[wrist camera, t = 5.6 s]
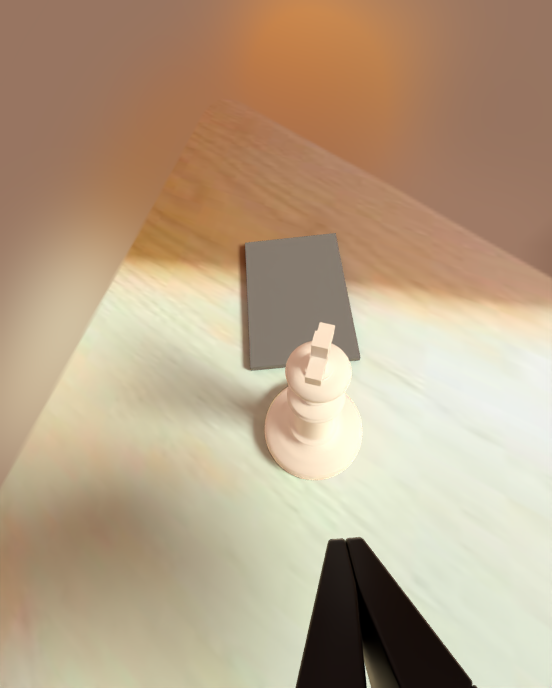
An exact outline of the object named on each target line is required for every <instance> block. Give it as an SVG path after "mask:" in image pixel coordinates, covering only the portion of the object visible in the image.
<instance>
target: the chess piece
mask: <svg viewBox="0 0 552 688" xmlns="http://www.w3.org/2000/svg"><path fill="white" fill-rule="evenodd" d="M334 330H335V325H331V324H326V323H322V322H320V323H319V327H318V330H317V331H315V333H314V336H313V340H312V341H310V342H306V343H304V344H302V345H300V346H299V347H297V348H296V349H295V350H294V351H293V352H292V353H291V355H290V356H289V358H288V360H287V363H286V369H285V374H286V379H287V382H288V384H289V386H288V387H287V388H285V389H284V390H283V391H281V392H280V393H279V394H278V395H277V396H276V397H275V399H274V400H273V402H272V403H271V405H270V407H269V409H268V412H267V415H266V420H265V439H266V444H267V447H268V449H269V451H270V453H271V455H272V457H273V458H274V460H275V461H276V462H277V463H278V464H279V465H280V466H281V467H282V468H283V469H284V470H285V471H287V472H288V473H290V474H292V475H294V476H296V477H299V478H302V479H306V480H323V479H328V478H331V477H333V476H336V475H338V474H339V473H341V472H342V471H344V470H345V469H346V468H347V467H348V466H349V465H350V464H351V463H352V462H353V460H354V459H355V457H356V456H357V454H358V451H359V449H360V445H361V441H362V422H361V418H360V414H359V412H358V409H357V407H356V406H355V404H354V402H353V401H352V400H351V398H350V397H349V396H348V395H347V394H346V393H345V390H346V389H347V387H348V386H349V383H350V380H351V375H352V369H351V364H350V361H349V359H348V357H347V356H346V354H345V353H344V352H343V351H342V350H341V349H340V348H339V347H337V346H336V345H334V344H332V339H333V335H334Z"/></svg>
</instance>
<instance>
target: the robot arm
mask: <svg viewBox="0 0 552 688" xmlns="http://www.w3.org/2000/svg"><path fill="white" fill-rule="evenodd" d="M364 662H365V665H364ZM365 666H366V670H367V673H368V677H369V681H370V684H371V688H477V686H475V685H473V686H472V680H471V679H470V678H469V676H468V675H467V674H466V672H465V671H464V670H463V668H462V667H461V666H460V665H459V663H458V662H457V661H456V659H455V658H454V657H453V655H452V654H451V653H450V651H449V650H448V649H447V648H446V646H445V645H444V644H443V642H442V641H441V640H440V638H439V637H438V636H437V635H436V633H435V632H434V631H433V629H432V628H431V627H430V625H429V624H428V623H427V621H426V620H425V619H424V618H423V616H422V615H421V614H420V612H419V611H418V610H417V608H416V607H415V606H414V604H413V603H412V602H411V601H410V599H409V598H408V597H407V595H406V594H405V593H404V591H403V590H402V589H401V588H400V586H399V585H398V584H397V582H396V581H395V580H394V578H393V577H392V576H391V574H390V573H389V572H388V571H387V569H386V568H385V567H384V565H383V564H382V563H381V561H380V560H379V559H378V557H377V556H376V555H375V554H374V552H373V551H372V550H371V548H370V547H369V546H368V544H367V543H366V542H365V541H364V539H363V538H361V537H355V538H347V539H346V541H345V540H344V539H342V538H341V539H330V540H329V541H328V544H327V549H326V553H325V558H324V562H323V567H322V571H321V576H320V580H319V585H318V589H317V594H316V598H315V603H314V607H313V612H312V616H311V621H310V625H309V630H308V634H307V639H306V643H305V648H304V652H303V657H302V661H301V666H300V670H299V675H298V679H297V684H296V688H367V687H366V676H365Z"/></svg>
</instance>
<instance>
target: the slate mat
mask: <svg viewBox="0 0 552 688" xmlns="http://www.w3.org/2000/svg"><path fill="white" fill-rule="evenodd" d="M245 251H246V274H247V298H248V321H249V345H250V368H251V371H252V370H263V369H273V368H283V367H286V363H287V360H288V358H289V356H290V355H291V353H292V352H293V351H294V350H295V349H296V348H297V347H299V346H300V345H302V344H304V343H306V342H310V341H312V340H313V336H314V333H315V331H317V330H318V327H319V323H320V322H322V323H326V324H331V325H335V330H334V335H333V339H332V344H334V345H336V346H337V347H339V348H340V349H341V350H342V351H343V352H344V353H345V354H346V356H347V357H348V359H349V361H357V360H360V353H359V348H358V343H357V338H356V333H355V328H354V323H353V318H352V313H351V308H350V303H349V298H348V293H347V288H346V283H345V278H344V273H343V268H342V263H341V258H340V253H339V248H338V243H337V238H336V233H332V234H323V235H314V236H304V237H295V238H286V239H277V240H267V241H258V242H249V243H245Z"/></svg>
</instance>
